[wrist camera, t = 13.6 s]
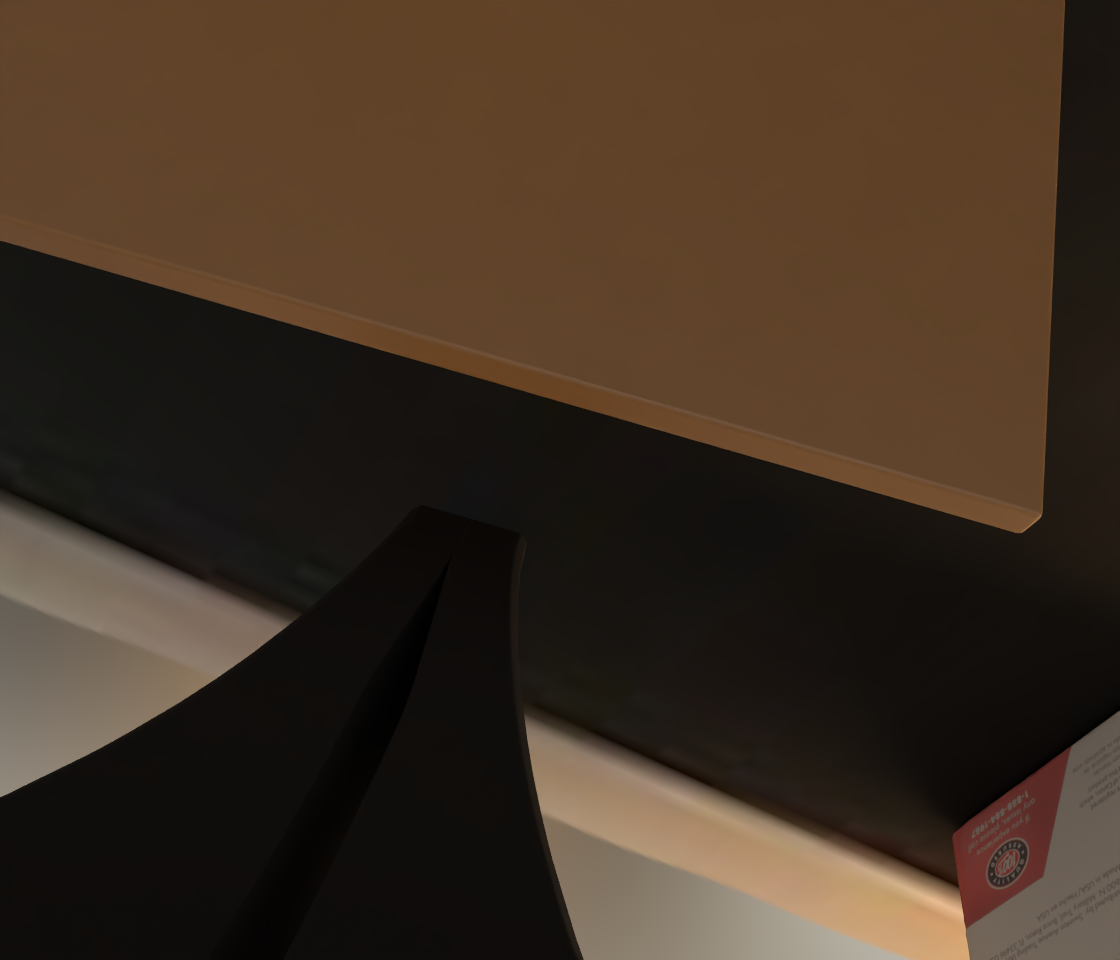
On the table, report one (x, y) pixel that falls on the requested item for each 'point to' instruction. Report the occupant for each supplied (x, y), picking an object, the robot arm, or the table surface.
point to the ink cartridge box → (1048, 860)
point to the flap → (594, 204)
